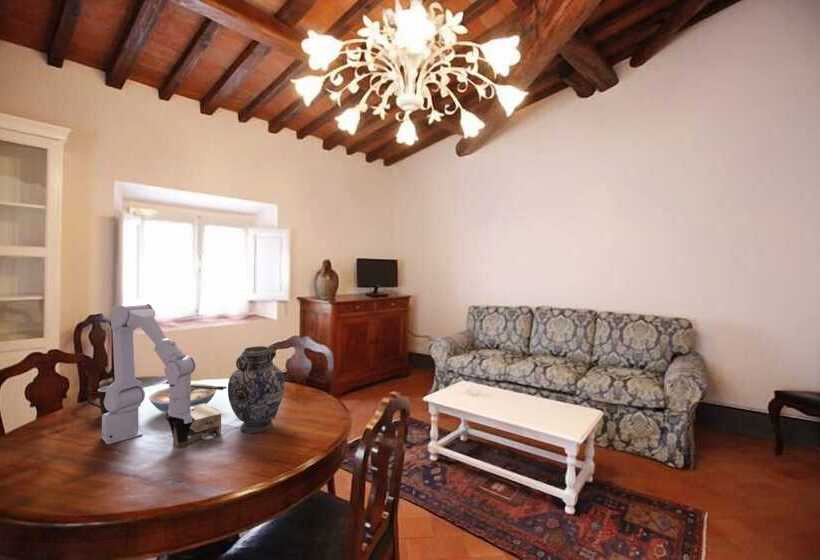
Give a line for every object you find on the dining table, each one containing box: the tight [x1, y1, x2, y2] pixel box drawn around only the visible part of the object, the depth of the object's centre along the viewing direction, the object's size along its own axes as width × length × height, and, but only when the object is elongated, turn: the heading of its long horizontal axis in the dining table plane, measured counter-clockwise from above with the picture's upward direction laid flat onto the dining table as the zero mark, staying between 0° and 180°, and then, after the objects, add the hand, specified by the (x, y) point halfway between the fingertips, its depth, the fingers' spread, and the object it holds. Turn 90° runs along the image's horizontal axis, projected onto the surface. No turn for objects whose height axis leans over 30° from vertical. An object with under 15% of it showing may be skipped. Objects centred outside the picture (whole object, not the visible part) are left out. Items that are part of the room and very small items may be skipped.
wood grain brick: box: [172, 427, 215, 449], centre depth 124 cm, size 12×3×6 cm, turn 153°
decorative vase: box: [227, 344, 285, 434], centre depth 134 cm, size 21×19×28 cm
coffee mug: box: [86, 385, 110, 416], centre depth 144 cm, size 12×9×10 cm
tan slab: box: [189, 403, 222, 435], centre depth 130 cm, size 8×15×7 cm, turn 49°
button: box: [201, 432, 217, 442], centre depth 125 cm, size 4×4×1 cm
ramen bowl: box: [148, 383, 227, 414], centre depth 148 cm, size 25×23×8 cm
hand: (179, 439), depth 119 cm, fingers open, 3 cm apart
